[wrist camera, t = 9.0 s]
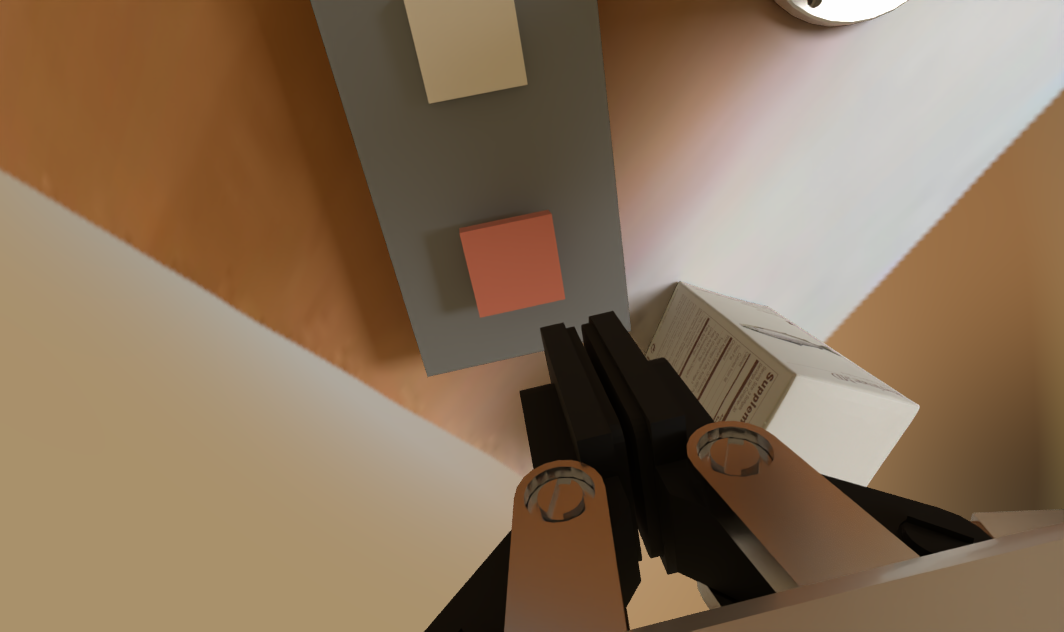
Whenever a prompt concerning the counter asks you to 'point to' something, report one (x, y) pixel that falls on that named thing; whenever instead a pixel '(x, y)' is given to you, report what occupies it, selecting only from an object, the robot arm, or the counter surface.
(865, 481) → the supplement box
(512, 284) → the red plug
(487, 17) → the ivory plug
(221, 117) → the counter surface
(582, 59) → the plug panel
